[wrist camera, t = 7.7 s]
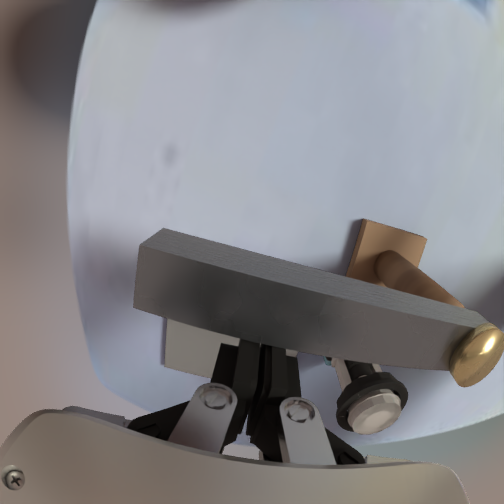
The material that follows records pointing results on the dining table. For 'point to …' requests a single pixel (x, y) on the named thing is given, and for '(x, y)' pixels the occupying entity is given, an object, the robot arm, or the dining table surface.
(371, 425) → the push button
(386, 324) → the steel strap
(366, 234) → the post
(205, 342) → the rubber mat
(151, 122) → the dining table surface
